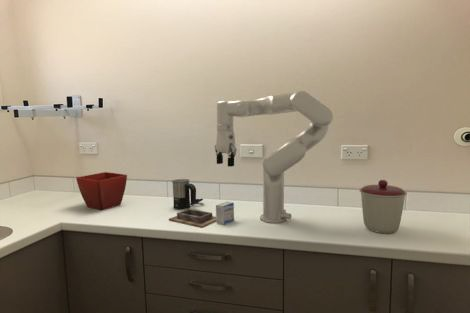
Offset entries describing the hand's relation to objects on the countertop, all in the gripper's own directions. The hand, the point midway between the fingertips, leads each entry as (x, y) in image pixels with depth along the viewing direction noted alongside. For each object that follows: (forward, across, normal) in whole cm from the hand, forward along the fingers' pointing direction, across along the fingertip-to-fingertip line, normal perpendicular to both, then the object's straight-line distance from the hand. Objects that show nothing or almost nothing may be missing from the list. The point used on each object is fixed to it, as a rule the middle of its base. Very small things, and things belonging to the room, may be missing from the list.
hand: (225, 164), depth 157 cm
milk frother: (+26, +30, +4) cm, 40 cm away
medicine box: (+26, -5, +3) cm, 26 cm away
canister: (+25, -52, -45) cm, 73 cm away
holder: (+26, +6, +13) cm, 30 cm away
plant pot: (+27, +58, +42) cm, 77 cm away
